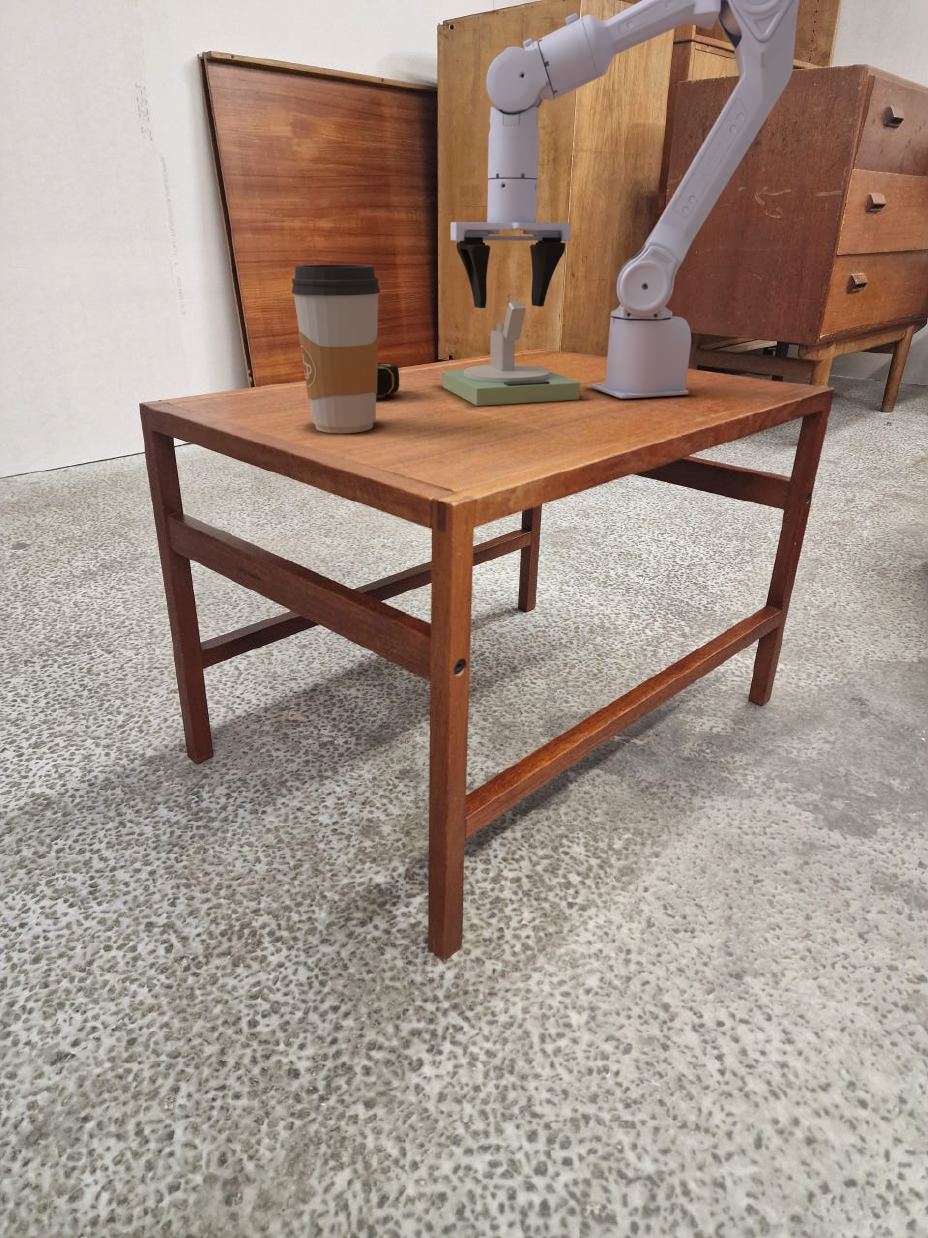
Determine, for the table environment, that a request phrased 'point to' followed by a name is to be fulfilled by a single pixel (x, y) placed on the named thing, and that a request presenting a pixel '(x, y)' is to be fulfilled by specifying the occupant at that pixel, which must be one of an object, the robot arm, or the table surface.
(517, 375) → the scale
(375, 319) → the coffee cup
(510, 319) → the lighter
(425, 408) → the table surface
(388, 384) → the tape measure
